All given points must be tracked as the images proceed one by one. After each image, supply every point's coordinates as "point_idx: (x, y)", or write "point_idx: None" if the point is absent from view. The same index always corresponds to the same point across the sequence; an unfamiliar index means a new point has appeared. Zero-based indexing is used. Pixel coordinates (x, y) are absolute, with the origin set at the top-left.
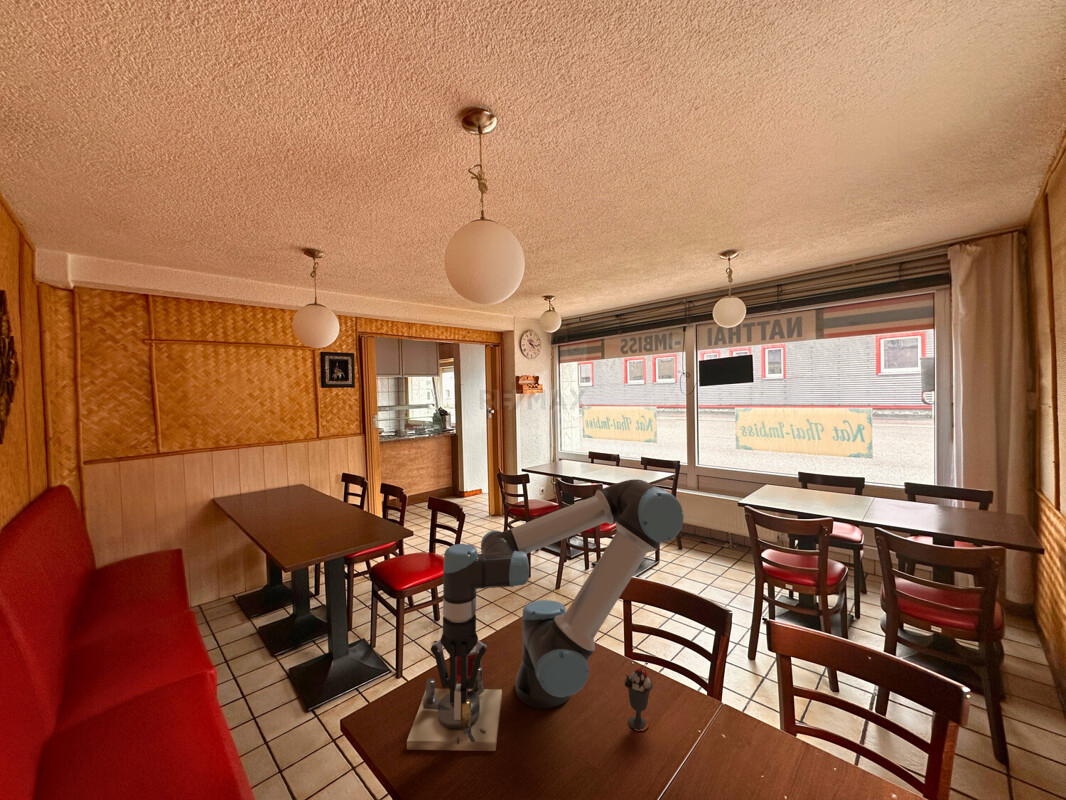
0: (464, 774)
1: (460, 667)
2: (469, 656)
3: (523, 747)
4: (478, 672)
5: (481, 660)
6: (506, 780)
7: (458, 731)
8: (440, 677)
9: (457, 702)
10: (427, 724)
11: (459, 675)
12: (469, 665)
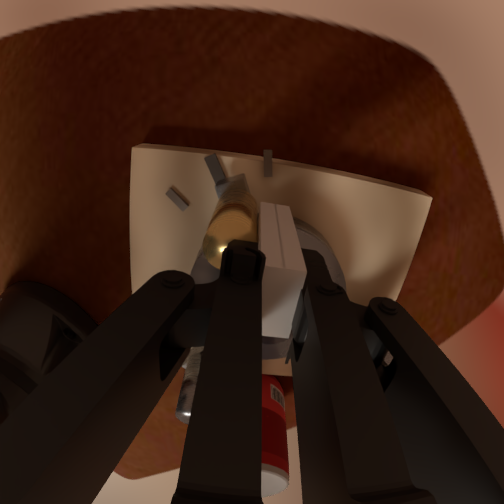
0: (242, 62)
1: (262, 427)
2: None
3: (67, 155)
4: (188, 403)
5: None
6: (115, 41)
7: None
8: (435, 348)
9: (279, 236)
10: (371, 254)
11: (265, 407)
12: None
